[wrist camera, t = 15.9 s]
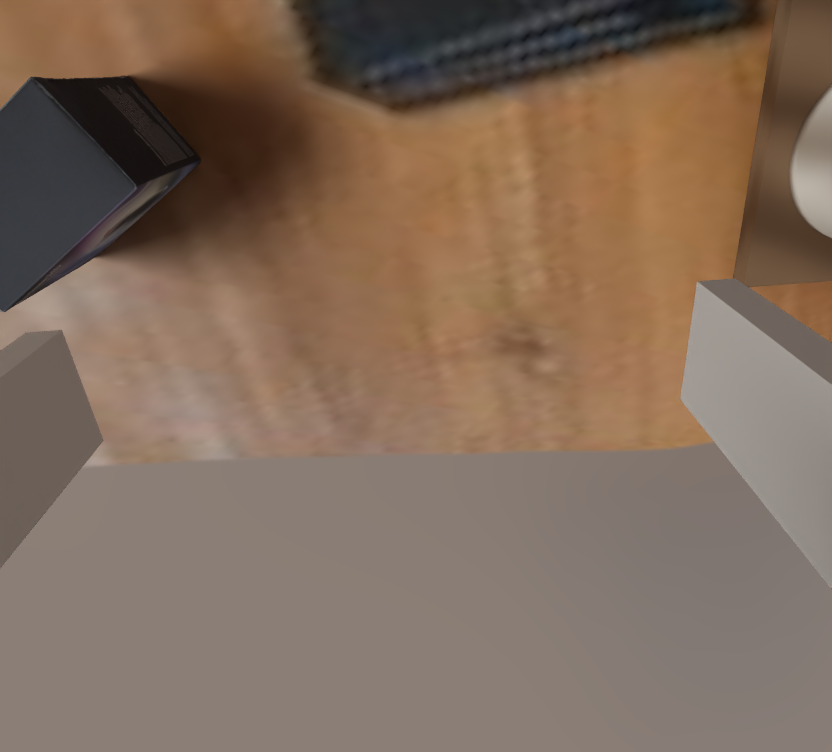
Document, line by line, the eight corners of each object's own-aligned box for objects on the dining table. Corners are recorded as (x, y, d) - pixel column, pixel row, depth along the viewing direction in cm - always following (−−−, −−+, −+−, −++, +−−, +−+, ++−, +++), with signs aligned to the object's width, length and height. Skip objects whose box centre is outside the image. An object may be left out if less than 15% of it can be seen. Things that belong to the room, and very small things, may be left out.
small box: (97, 265, 41) (2, 321, 31) (15, 185, 38) (-115, 220, 29) (208, 163, 38) (140, 192, 28) (126, 70, 35) (23, 68, 26)
